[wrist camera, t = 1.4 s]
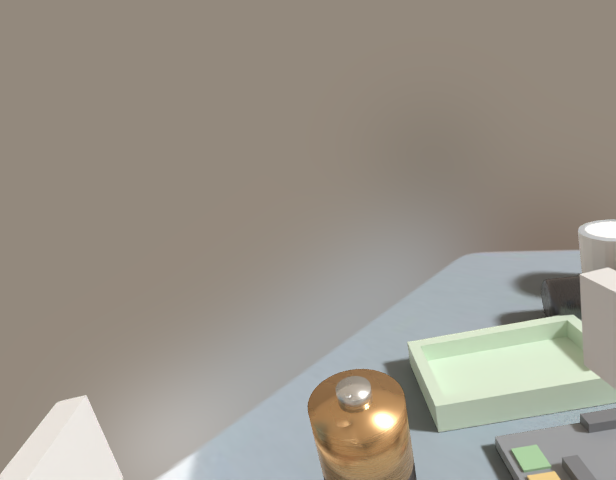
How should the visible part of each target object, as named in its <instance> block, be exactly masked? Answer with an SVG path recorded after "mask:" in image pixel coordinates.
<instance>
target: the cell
mask: <svg viewBox="0 0 616 480" xmlns="http://www.w3.org/2000/svg"><path fill="white" fill-rule="evenodd" d="M308 414H309V418H310V422H311V426H312V430H313V434H314V439H315V443H316V447H317V451H318V455H319V460H320V464H321V468H322V472H323V476H324V480H416V473H415V466H414V459H413V451H412V444H411V437H410V430H409V423H408V416H407V409H406V402H405V396H404V392H403V389H402V388H401V386H400V385H399V383H398V382H397V381H396V380H394V379H393V378H392V377H390V376H389V375H387V374H385V373H382V372H379V371H375V370H369V369H354V370H348V371H344V372H340V373H338V374H335V375H333V376H331V377H329V378H327V379H326V380H324V381H323V382H321V383H320V384H319V385H318V386H317V387H316V388H315V390H314V391H313V392H312V394H311V396H310V398H309V402H308Z"/></svg>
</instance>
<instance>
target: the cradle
mask: <svg viewBox="0 0 616 480" xmlns="http://www.w3.org/2000/svg"><path fill="white" fill-rule="evenodd" d="M495 443H496V449H497V450H498V452H499V454H500V456H501V457H502V459H503V461H504V463H505V465H506V466H507V468H508V470H509V472H510V474H511V475H512V477H513V479H514V480H616V408H614V409H608V410H602V411H596V412H590V413H584V414H580V423H575V424H569V425H563V426H557V427H551V428H545V429H539V430H533V431H527V432H521V433H515V434H509V435H503V436H497V437H495Z"/></svg>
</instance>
